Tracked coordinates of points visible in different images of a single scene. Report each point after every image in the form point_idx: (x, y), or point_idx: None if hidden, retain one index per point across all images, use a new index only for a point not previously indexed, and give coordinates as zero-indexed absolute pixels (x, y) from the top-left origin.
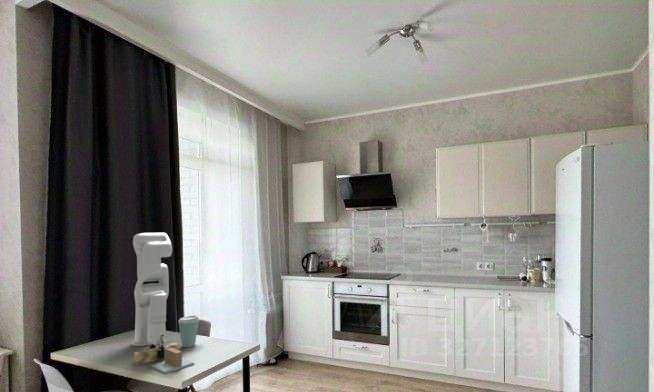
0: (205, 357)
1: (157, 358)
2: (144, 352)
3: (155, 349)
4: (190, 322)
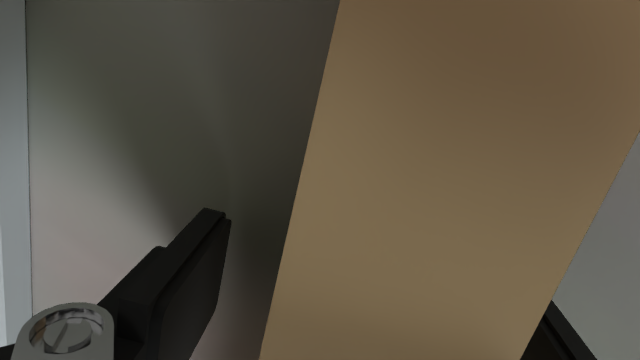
0: None
1: (223, 212)
2: (395, 15)
3: (308, 354)
4: None
